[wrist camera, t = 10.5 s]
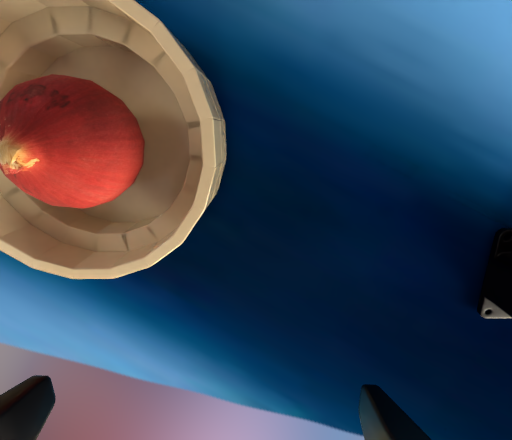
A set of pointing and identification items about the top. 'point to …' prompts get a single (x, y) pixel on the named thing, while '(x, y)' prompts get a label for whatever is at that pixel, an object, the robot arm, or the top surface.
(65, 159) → the onion
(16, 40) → the bowl
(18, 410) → the robot arm
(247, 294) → the top surface
